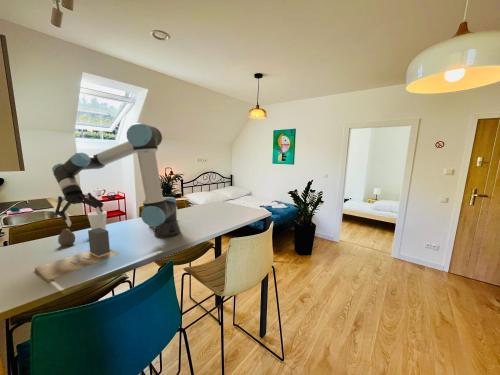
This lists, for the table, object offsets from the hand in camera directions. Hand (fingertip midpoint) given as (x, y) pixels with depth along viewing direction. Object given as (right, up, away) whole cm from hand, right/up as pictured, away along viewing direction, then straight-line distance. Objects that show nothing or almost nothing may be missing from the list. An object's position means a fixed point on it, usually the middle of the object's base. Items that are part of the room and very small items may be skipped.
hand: (86, 221), depth 105 cm
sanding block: (+9, -15, -3) cm, 18 cm away
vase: (-17, -14, +8) cm, 24 cm away
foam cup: (-12, -12, +26) cm, 31 cm away
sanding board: (+5, -17, -10) cm, 20 cm away
